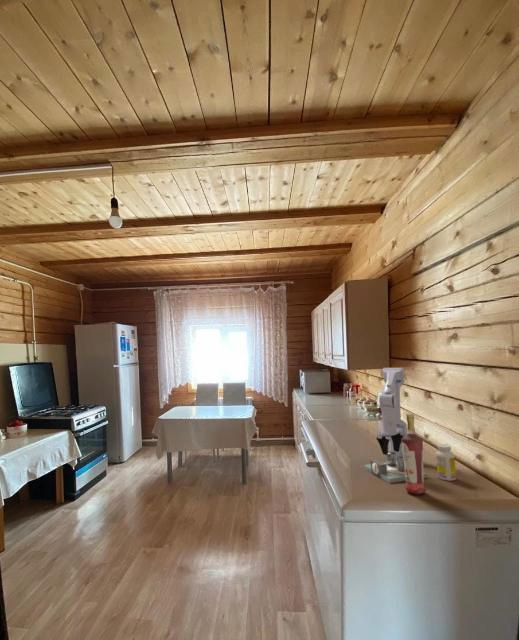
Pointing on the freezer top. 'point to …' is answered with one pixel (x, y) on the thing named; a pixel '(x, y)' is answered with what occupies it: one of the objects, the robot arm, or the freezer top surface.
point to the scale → (387, 471)
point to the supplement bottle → (445, 463)
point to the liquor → (413, 459)
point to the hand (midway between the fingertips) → (390, 452)
